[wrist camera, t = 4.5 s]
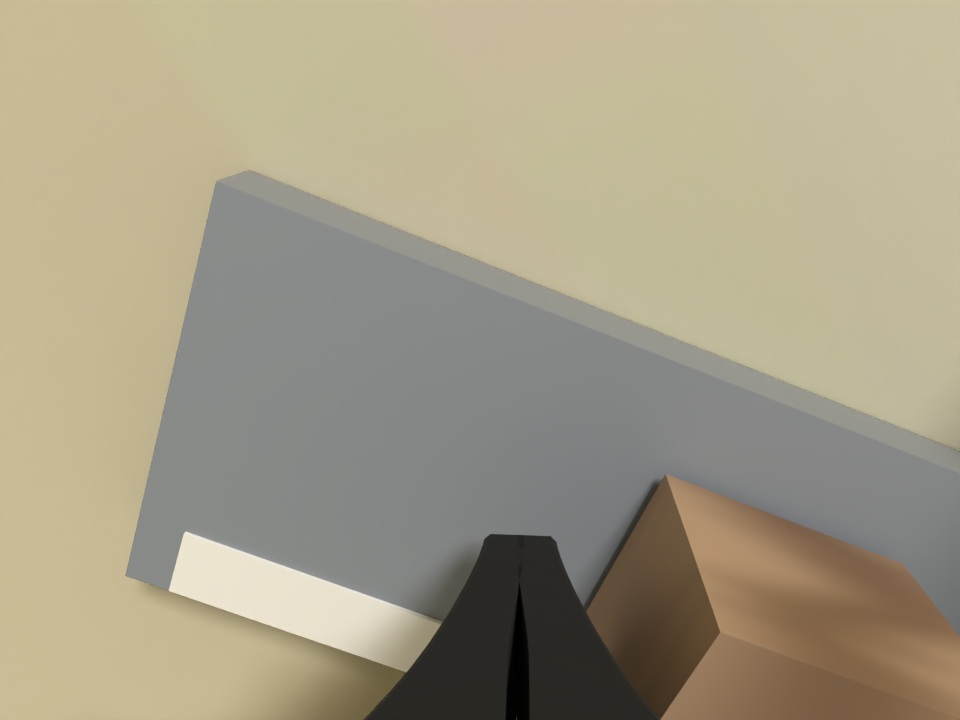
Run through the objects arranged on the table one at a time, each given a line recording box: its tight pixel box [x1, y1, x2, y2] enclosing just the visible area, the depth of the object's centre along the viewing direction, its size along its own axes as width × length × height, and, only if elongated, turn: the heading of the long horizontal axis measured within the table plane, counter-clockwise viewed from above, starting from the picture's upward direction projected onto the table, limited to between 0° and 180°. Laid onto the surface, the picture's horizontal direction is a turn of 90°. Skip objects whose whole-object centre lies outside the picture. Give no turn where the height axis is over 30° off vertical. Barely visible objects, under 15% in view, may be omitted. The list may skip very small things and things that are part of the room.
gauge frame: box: [125, 170, 960, 672], centre depth 13 cm, size 20×9×6 cm, turn 69°
